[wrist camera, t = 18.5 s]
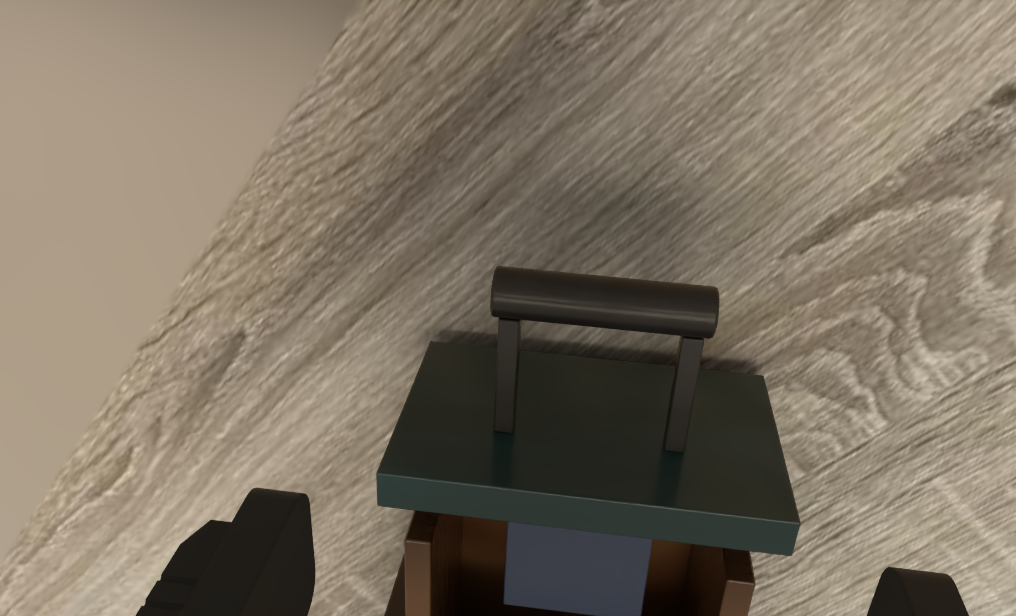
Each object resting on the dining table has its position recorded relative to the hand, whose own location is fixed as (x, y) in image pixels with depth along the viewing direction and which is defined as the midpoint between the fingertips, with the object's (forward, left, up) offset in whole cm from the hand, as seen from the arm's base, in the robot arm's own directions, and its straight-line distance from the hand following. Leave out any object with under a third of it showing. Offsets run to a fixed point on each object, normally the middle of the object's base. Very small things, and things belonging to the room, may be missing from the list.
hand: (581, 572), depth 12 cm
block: (+4, -10, -15) cm, 19 cm away
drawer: (+4, -10, -16) cm, 19 cm away
